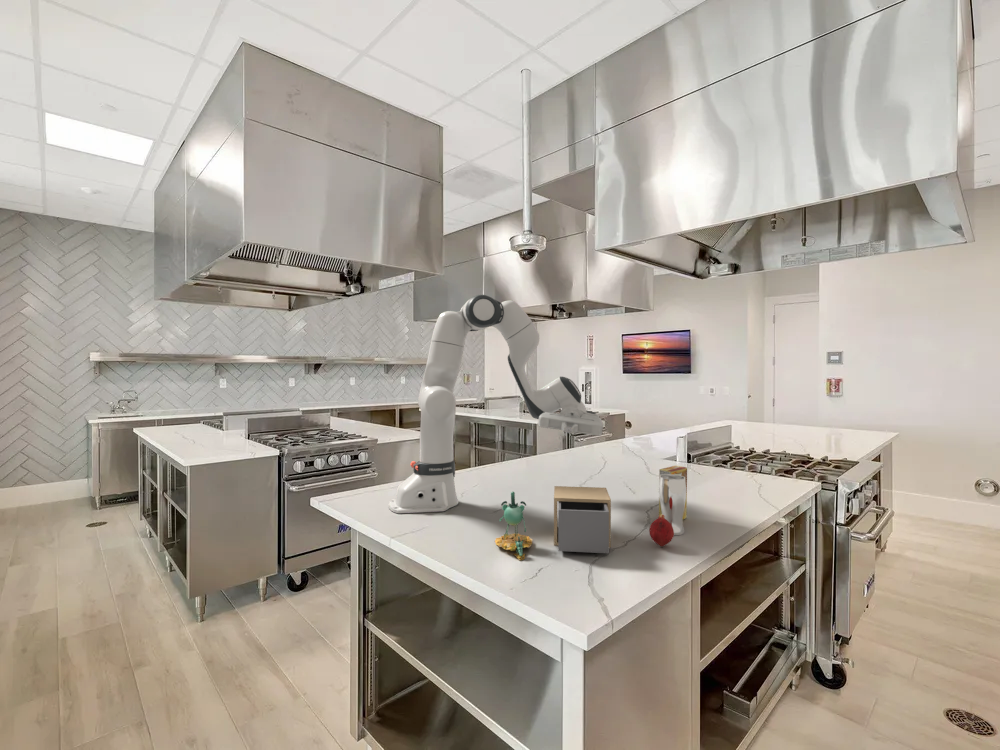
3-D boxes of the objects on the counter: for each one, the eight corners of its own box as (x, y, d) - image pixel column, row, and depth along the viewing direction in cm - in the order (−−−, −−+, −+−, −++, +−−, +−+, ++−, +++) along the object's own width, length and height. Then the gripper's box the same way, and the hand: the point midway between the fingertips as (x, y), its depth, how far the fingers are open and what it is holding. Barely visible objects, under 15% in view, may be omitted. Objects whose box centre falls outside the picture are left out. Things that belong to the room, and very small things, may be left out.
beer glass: (689, 531, 129) (690, 476, 128) (679, 537, 123) (679, 481, 123) (665, 525, 133) (665, 472, 133) (654, 531, 128) (654, 476, 128)
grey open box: (558, 523, 132) (558, 488, 132) (601, 525, 130) (601, 490, 130) (558, 550, 112) (558, 509, 112) (608, 553, 110) (608, 511, 110)
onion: (670, 552, 113) (670, 519, 113) (646, 548, 117) (646, 515, 116) (675, 545, 118) (676, 513, 118) (652, 540, 121) (652, 509, 121)
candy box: (674, 515, 143) (674, 464, 143) (687, 518, 139) (687, 467, 139) (658, 521, 137) (658, 468, 137) (671, 524, 134) (671, 471, 134)
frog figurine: (490, 561, 109) (489, 496, 110) (497, 541, 127) (497, 485, 128) (531, 562, 108) (530, 496, 110) (533, 542, 126) (532, 486, 127)
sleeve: (554, 529, 130) (554, 486, 130) (605, 531, 128) (606, 487, 128) (553, 545, 118) (554, 497, 118) (610, 548, 117) (610, 499, 116)
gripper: (541, 405, 157) (535, 415, 144) (604, 414, 153) (603, 424, 140) (540, 423, 158) (533, 434, 145) (601, 433, 154) (601, 445, 141)
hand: (568, 430), depth 142 cm, fingers closed
